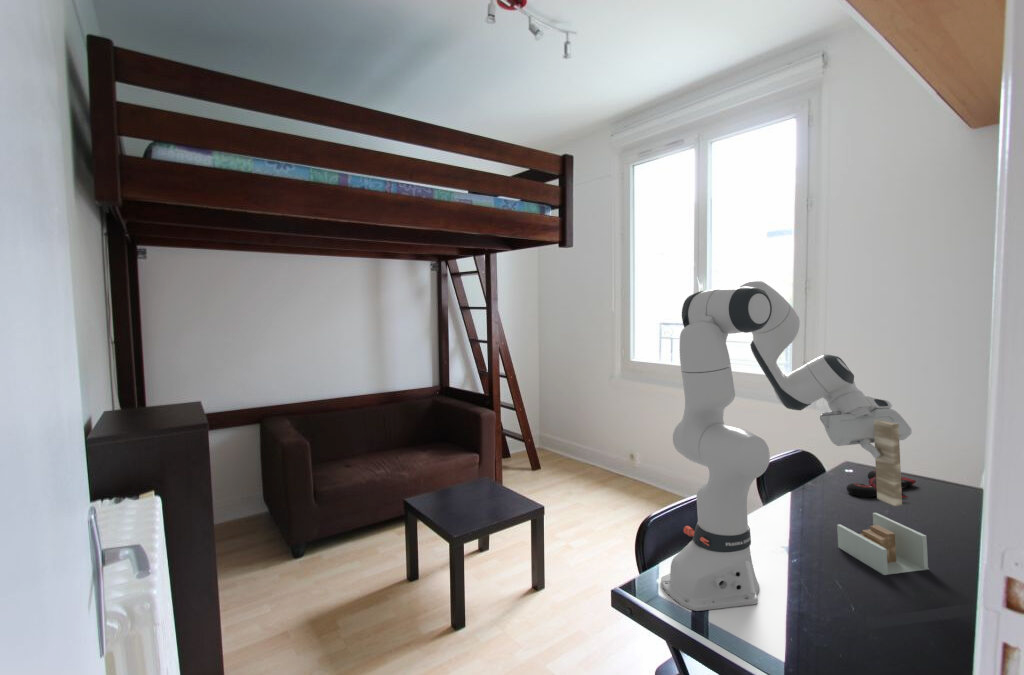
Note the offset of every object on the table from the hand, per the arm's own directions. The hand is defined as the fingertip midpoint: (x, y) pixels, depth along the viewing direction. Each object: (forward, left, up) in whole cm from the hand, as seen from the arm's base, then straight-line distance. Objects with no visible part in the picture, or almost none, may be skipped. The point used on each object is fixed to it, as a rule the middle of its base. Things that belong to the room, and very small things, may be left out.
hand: (886, 456), depth 119 cm
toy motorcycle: (+43, +34, -27) cm, 61 cm away
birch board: (0, 0, -11) cm, 11 cm away
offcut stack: (-4, 0, -25) cm, 26 cm away
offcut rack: (-3, 0, -27) cm, 27 cm away
